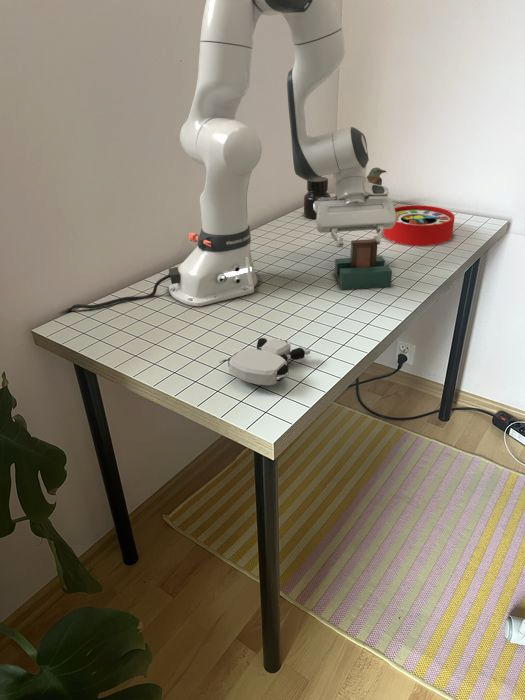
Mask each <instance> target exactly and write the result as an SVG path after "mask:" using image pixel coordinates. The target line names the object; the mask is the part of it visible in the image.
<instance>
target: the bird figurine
mask: <svg viewBox="0 0 525 700" xmlns="http://www.w3.org/2000/svg"><path fill="white" fill-rule="evenodd" d="M385 173H387V170H385V169H381V167H373V168H372V169H370V171H369V173H368V175H366V177H367V179H368V182H369V183H373V184H376V185H380V186H383V185H382V184H383V179H382V177H381V174H385Z"/></svg>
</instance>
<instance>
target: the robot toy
mask: <svg viewBox="0 0 525 700" xmlns="http://www.w3.org/2000/svg"><path fill="white" fill-rule="evenodd" d="M291 347H292V346H291V341H290V340H285V339H282V338H271V339H268V338H267V337H259V338H258V340H257V342H256V349H255V348H245V349H241V350H239V351H236V352H235V353H234V354H233V355H231V356H229V357H228V358H225V359H220V360H219V361H218V363H219V364H222V363H224V362H227V363H228V364H227V365H228V366H227V367H228V370H229V371H228V372H229V373H230V374H231V375H232V376H234V377H235V378H237V379H239V380H241V381H243V382H245V383H248V384H249V383H250V384H255V385H259V386H272V385H276V384H277V383H280V382H282V381H283V380H284V379H285V378H286V377H289V374H290V373H289V366H288V361H289V360H294V361H298V360H302V359H304V358H305V356H308V355H310V354H311V350H310V349H308V348H307V347H296V348H294V349H292V348H291Z"/></svg>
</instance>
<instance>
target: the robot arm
mask: <svg viewBox="0 0 525 700" xmlns="http://www.w3.org/2000/svg"><path fill="white" fill-rule="evenodd" d="M202 14H203V15H202V21H201V28H200V39H199V52H198V53H199V54H198V69H197V79H196V80H197V81H196V86H195V92H194V96H193V99H192V103H191V107H190V111H189V114H188V117H187V119H186V121H184V123H183V124H182V127H181V130H180V132H179V140H180V145H181V148H182V150H183V151H184V152H185V153H186V155H187V156H189V158H190V159H191V160H193V161H194V162H196V163H197V164H200V165H203V166H205V171H206V173H205V174H206V175H205V181H204V182H205V183H204V188H203V190H202V191H201V193H200V195H199V208H200V218H201V229H200V232H199V234H198V233H195V232H189V233H188V237H187V238H188V240H189V241H191V242H193V243H196V244H197V246H196V247H195V248H194V249H193V250H192V252H191V253H190V254H189V255H188V256H187V257H186V258H185V259H184V261H183V262H182V263H181V264H180V265H179V266H176V267H169V268H168V273H169V274H167V275H165V276H163V277H161V278H159V279H158V280H157V281H156V282H155V284H154V285H153V288H152V289H153V290H152V291H151V292H150V293H148V294H146V295H142V296H123V297H118V298H115V299H111V300H108V301H104V302H100V303H96V304H83V303H78V304H72V305H73V306H72V305H71V306H72V307H71V308H69V307H67V309H66V310H65V313H70V312H71V311H72V310H74V309H97V308H102V307H106V306H109V305H112V304H115V303H120V302H125V301H136V300H143V299H144V300H145V299H149V298H152V297H153V296H154V295H156V293H157V290H158V286H159V285H160V284H161V283H163V282H164V281H166V280H168V279H170V282H171V284H170V285H169V286H168V291H169V294H170V296H171V297H172V298H174V299H175V300H177V301H178V302H180V303H183V304H185V305H189V306H191V307H203V306H207V305H211V304H215V303H219V302H223V301H226V300H230V299H234V298H238V297H239V298H240V297H243V296H245V295H246V296H247V295H250V294H254V293H255V287H256V285H257V283H258V281H259V280H258V277H257V275H256V270H255V268H254V264H253V259H252V253H251V241H252V238H251V237H252V236H251V227H250V225H249V215H248V192H249V185H250V184H249V183H250V179H251V175H252V172H253V170H254V169H255V168H256V167H257V166H258V164H259V162H260V160H261V157H262V152H263V151H262V149H263V147H262V142H261V139H260V136H259V135H258V133H257V132H256V131H255V130H253V129H252V128H251V127H250V126H249V125H247V124H246V123H244V122H242V121H239V120H236V115H237V112H238V110H239V107H240V104H241V102H242V100H243V98H244V97H245V96H246V95H247V93H248V92H249V88H250V83H251V72H252V63H253V53H254V40H255V30H256V26H257V24H258V21H259V19H260V18H261V16H263V15H264V16H276V15H282V16H283V17H284V19H285V21H286V23H287V25H288V27H289V28H290V34H291V38H292V44H293V48H294V61H293V65H292V66H293V67H292V68H291V69H290V70H289V71H288V73H287V78H286V82H287V83H286V92H287V105H288V106H287V107H288V117H289V127H290V137H291V165H292V168H293V170H294V173H295V175H296V176H298V177H299V178H301V179H303V180H304V181H306V182H307V181H311V180H313V179H316V178H319V177H325V176H328V175H332V177H333V178H334V195H335V196H331V197H327V198H324V197H321V198H319V199H317V200H316V201H315V202H314V204H313V206H314V211H315V213H317V217H316V219H315V229H316V231H317V232H318V233H320V234H324V233H325V234H326V233H330V237H332V239H333V240H334V242H335V244H336V248H342V247H344V238H343V237H340V236H339V235H338V233H340V232H357V231H358V232H359V231H375V232H376V234H377V235H374V236H373V238H372V239H376V240H377V242H378V243H377V246H378V245H380V244H381V242H382V241H381V236H382V234H383V229H391V228H392V227H393V226H394V225H395V223H396V213H395V208H396V207H395V205H394V202H393V200H392V198H391V197H389V188H388V187H387V186H384V185H381V186H380V185H376V184H373V183H369V182H368V179H367V166H368V163H369V160H370V159H369V153H368V152H369V151H368V143H367V137H366V136H365V134H364V133H363V132H362V131H360V130H359V129H358V128H356V127H354V126H351V127H349V126H348V127H344V128H341V129H336V130H333V131H331V132H327V133H323V134H319V135H316V136H310V135H309V132H308V131H309V130H308V120H307V107H306V105H307V104H306V103H307V99H308V98H309V96H310V95H311V94H312V93H313V92H314V91H315V90H317V88H318V87H320V86H321V85H323V83H325V82H326V81H327V80H329V79H330V78H331V77H332V76H333V75H334V74H335V73H336V72H337V71H338V69H339V68H340V67H341V65H342V64H343V61H344V58H345V55H346V44H345V36H344V30H343V24H342V20H341V16H340V13H339V8H338V5H337V2H336V0H205V5H204V9H203V13H202Z"/></svg>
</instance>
